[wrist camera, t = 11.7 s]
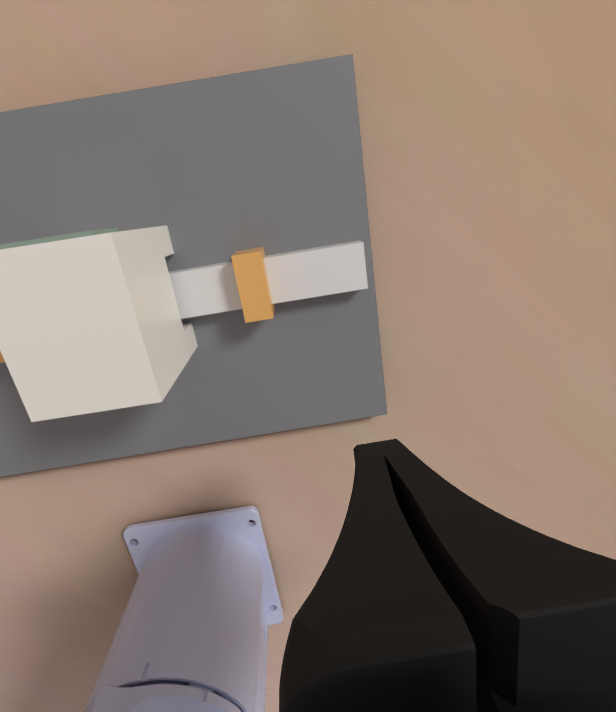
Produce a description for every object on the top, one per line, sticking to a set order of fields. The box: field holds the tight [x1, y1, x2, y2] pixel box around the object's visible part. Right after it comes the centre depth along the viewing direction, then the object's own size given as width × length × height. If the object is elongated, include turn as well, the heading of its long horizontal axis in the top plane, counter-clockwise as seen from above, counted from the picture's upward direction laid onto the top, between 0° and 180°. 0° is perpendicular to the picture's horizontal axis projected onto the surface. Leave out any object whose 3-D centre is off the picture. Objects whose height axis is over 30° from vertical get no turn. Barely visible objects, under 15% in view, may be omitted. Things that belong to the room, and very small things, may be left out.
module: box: [0, 225, 198, 422], centre depth 16 cm, size 6×4×6 cm
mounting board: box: [0, 54, 387, 477], centre depth 18 cm, size 16×22×3 cm
